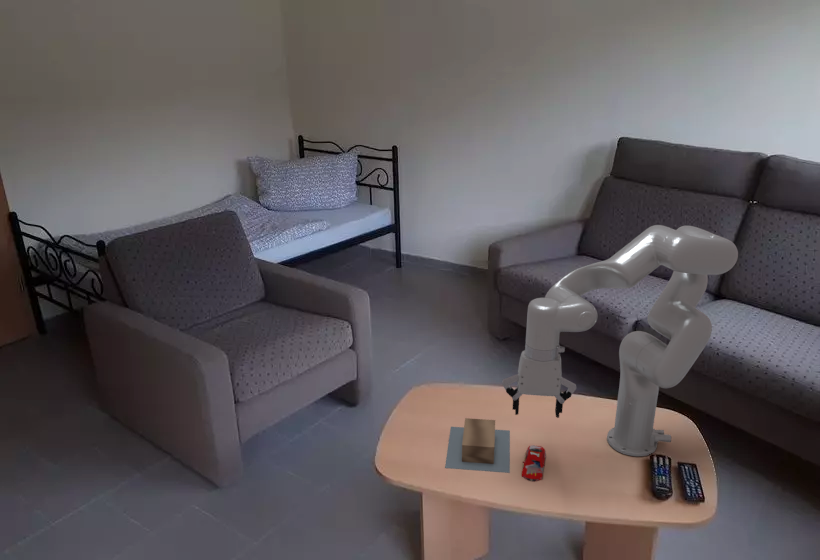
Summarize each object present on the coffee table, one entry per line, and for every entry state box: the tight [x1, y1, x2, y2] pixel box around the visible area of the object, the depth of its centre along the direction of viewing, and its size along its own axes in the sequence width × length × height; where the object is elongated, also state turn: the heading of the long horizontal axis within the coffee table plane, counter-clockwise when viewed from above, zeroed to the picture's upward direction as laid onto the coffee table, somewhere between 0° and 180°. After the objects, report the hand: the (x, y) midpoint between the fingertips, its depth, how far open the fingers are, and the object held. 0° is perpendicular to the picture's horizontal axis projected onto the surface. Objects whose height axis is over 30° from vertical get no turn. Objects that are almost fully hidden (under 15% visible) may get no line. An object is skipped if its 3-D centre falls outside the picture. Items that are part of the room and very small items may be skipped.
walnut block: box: [462, 417, 496, 464], centre depth 173 cm, size 8×12×5 cm, turn 172°
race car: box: [521, 444, 547, 482], centre depth 167 cm, size 13×5×4 cm, turn 163°
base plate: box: [444, 426, 511, 474], centre depth 174 cm, size 16×18×1 cm
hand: (536, 413), depth 162 cm, fingers open, 9 cm apart
